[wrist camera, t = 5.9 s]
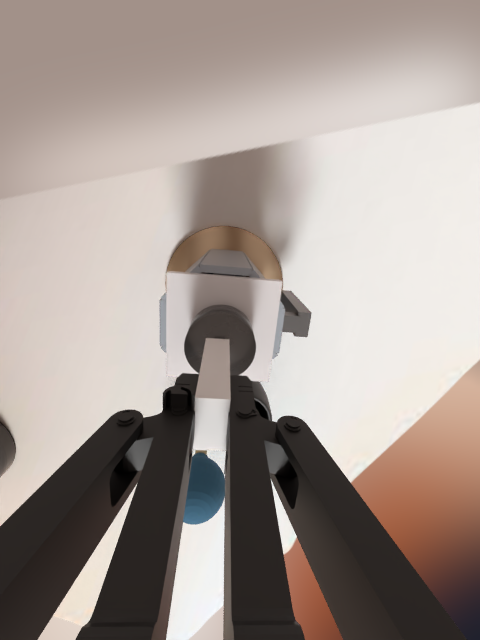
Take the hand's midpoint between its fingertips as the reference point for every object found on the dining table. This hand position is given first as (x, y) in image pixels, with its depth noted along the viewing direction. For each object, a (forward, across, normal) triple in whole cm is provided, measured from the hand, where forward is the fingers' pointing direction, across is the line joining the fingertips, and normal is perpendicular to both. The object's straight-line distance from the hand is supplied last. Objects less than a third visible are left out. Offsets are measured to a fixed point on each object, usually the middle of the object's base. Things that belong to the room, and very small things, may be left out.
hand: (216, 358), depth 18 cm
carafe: (+21, +2, 0) cm, 21 cm away
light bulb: (+22, -2, -28) cm, 36 cm away
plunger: (+13, 0, 0) cm, 13 cm away
